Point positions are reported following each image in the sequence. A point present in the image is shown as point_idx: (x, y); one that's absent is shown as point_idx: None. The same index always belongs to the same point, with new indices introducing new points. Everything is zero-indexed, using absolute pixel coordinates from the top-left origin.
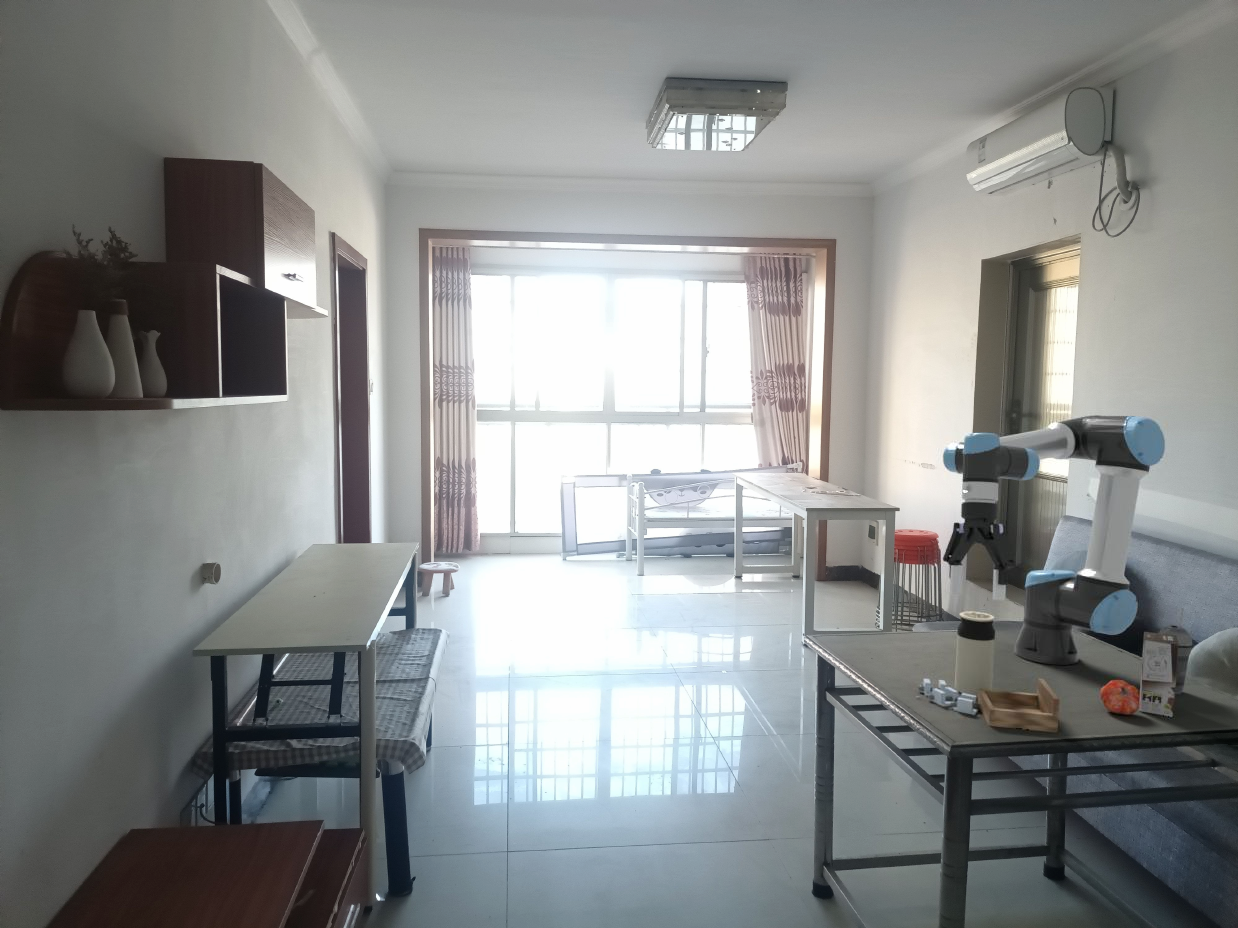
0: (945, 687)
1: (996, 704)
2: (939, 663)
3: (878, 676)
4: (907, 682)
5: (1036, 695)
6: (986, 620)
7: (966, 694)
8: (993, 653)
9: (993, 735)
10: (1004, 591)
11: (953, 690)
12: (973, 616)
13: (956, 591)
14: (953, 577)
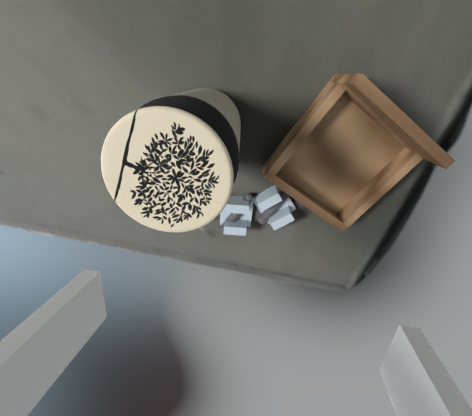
0: (225, 211)
1: (293, 157)
2: (25, 47)
3: (105, 223)
4: None
5: (343, 92)
6: (231, 190)
7: (265, 203)
8: (232, 118)
9: (359, 237)
10: (446, 382)
11: (241, 209)
12: (180, 204)
13: (96, 307)
14: (39, 392)
